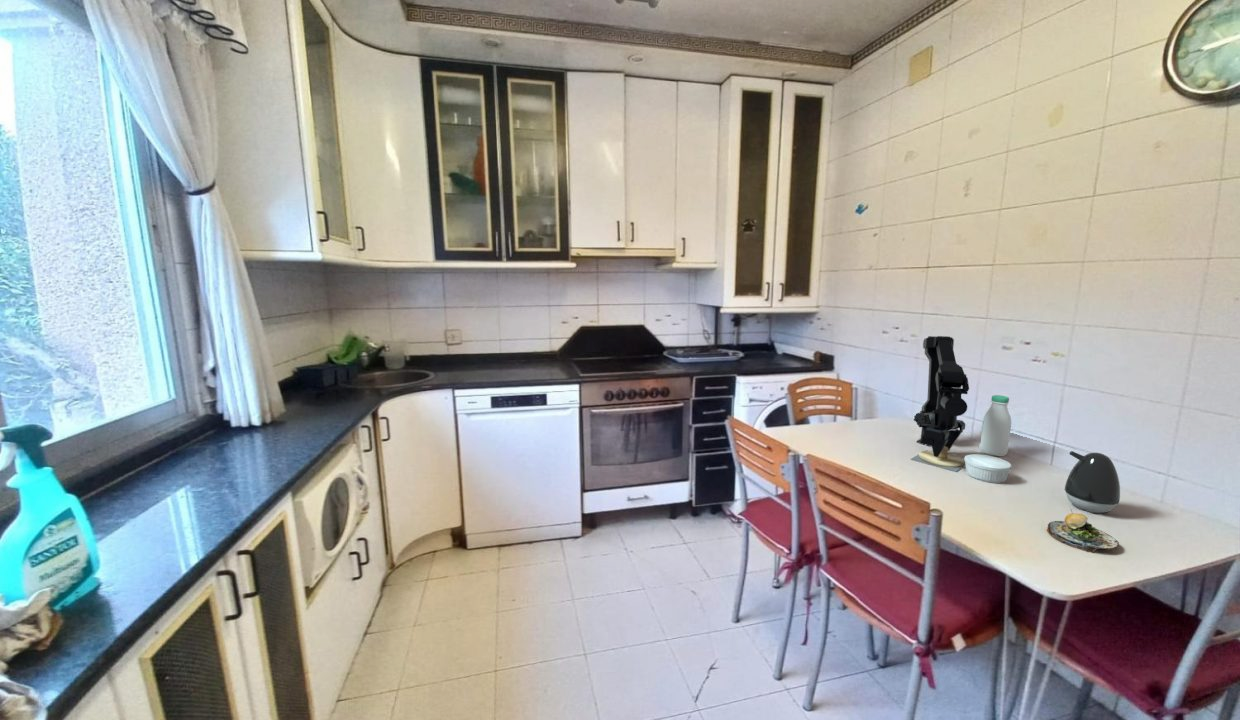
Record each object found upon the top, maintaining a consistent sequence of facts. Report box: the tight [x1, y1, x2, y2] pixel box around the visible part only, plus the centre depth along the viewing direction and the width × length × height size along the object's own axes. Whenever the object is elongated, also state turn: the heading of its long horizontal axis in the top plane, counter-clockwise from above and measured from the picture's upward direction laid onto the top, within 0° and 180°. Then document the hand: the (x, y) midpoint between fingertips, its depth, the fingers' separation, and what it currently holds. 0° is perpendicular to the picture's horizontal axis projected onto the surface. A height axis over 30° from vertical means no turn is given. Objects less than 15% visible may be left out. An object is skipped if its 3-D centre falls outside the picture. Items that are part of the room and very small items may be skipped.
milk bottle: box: [978, 394, 1012, 457], centre depth 161 cm, size 8×8×20 cm
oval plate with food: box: [1046, 507, 1120, 553], centre depth 108 cm, size 12×12×8 cm
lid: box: [918, 446, 964, 468], centre depth 154 cm, size 12×12×4 cm
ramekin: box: [963, 453, 1012, 484], centre depth 142 cm, size 11×11×5 cm
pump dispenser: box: [1064, 450, 1121, 514], centre depth 122 cm, size 10×10×15 cm
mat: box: [910, 449, 966, 473], centre depth 155 cm, size 13×13×1 cm
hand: (941, 453), depth 154 cm, fingers open, 9 cm apart
